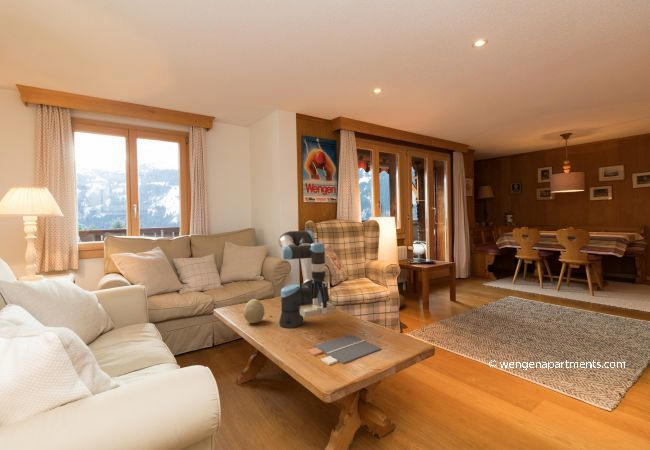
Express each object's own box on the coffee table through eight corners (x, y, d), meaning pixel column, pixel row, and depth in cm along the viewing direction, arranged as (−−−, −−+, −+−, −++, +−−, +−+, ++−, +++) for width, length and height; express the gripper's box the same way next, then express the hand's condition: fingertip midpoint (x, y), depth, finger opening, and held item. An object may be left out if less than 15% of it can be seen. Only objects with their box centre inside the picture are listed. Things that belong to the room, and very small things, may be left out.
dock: (304, 349, 158) (304, 347, 158) (349, 335, 175) (349, 333, 175) (332, 367, 139) (332, 365, 139) (381, 349, 156) (381, 347, 156)
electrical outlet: (299, 307, 176) (328, 302, 184) (299, 314, 176) (328, 309, 184) (304, 310, 169) (334, 305, 177) (304, 317, 169) (334, 312, 177)
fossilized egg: (260, 318, 209) (259, 295, 209) (268, 323, 199) (267, 299, 198) (241, 322, 202) (240, 299, 202) (248, 328, 192) (247, 303, 191)
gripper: (302, 269, 182) (304, 308, 183) (323, 274, 166) (325, 317, 167) (313, 267, 187) (315, 306, 188) (335, 272, 170) (336, 314, 171)
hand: (319, 311), depth 177 cm, fingers closed on electrical outlet, 8 cm apart
